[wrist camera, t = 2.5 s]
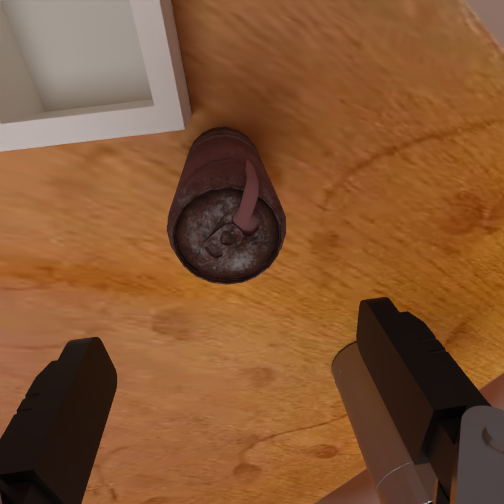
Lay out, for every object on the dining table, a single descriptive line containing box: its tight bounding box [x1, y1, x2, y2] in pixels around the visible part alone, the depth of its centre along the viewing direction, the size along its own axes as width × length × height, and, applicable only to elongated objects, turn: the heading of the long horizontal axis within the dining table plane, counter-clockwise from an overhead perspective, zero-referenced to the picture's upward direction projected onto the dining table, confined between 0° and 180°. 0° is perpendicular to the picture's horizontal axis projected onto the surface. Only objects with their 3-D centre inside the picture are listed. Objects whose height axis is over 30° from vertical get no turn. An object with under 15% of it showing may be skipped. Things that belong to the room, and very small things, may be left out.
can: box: [167, 127, 286, 285], centre depth 21 cm, size 6×6×14 cm
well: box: [0, 0, 192, 152], centre depth 19 cm, size 12×12×6 cm
